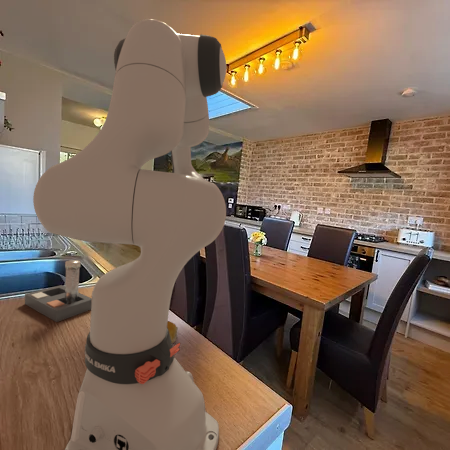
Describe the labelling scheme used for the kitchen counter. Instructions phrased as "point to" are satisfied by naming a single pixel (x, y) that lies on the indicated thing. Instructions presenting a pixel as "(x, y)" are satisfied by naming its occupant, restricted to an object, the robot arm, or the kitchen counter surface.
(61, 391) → the kitchen counter surface
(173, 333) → the bread roll
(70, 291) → the metal plug
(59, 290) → the socket board
